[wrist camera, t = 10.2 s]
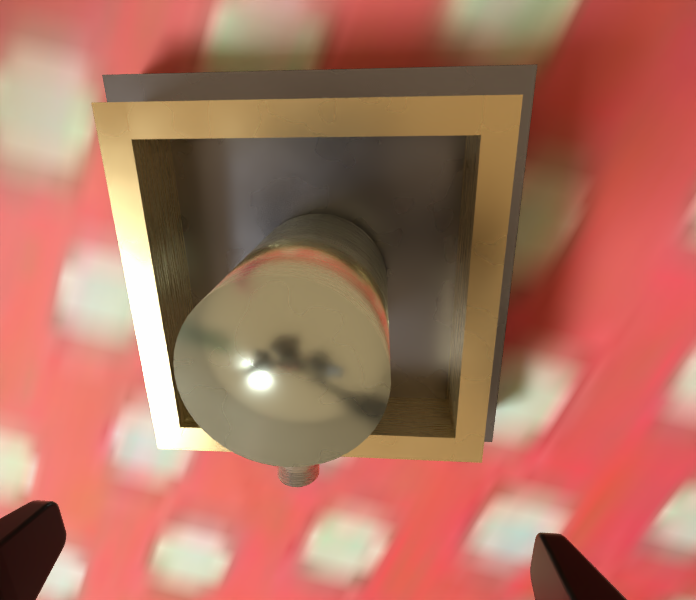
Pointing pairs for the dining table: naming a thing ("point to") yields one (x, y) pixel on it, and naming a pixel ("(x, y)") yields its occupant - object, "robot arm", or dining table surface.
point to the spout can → (292, 348)
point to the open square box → (338, 200)
